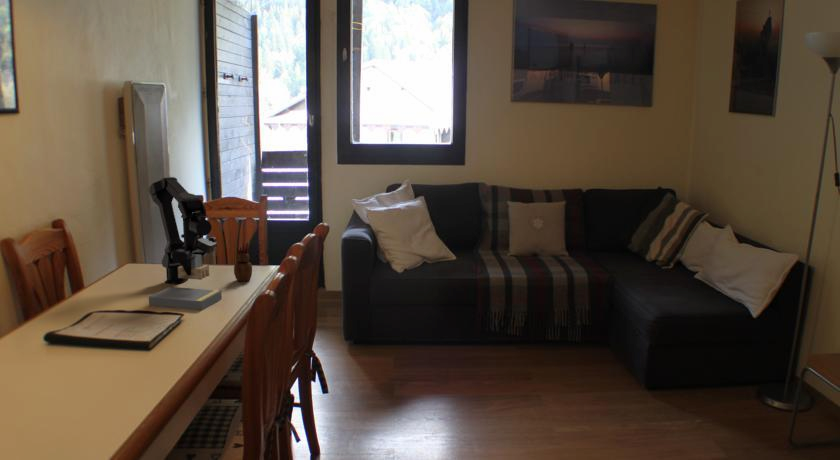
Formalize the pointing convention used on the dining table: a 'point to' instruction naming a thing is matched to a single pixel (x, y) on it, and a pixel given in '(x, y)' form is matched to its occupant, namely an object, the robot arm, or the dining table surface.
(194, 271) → the pallet
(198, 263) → the grey cube
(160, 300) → the dock
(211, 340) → the dining table surface
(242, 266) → the brown vase with sticks
